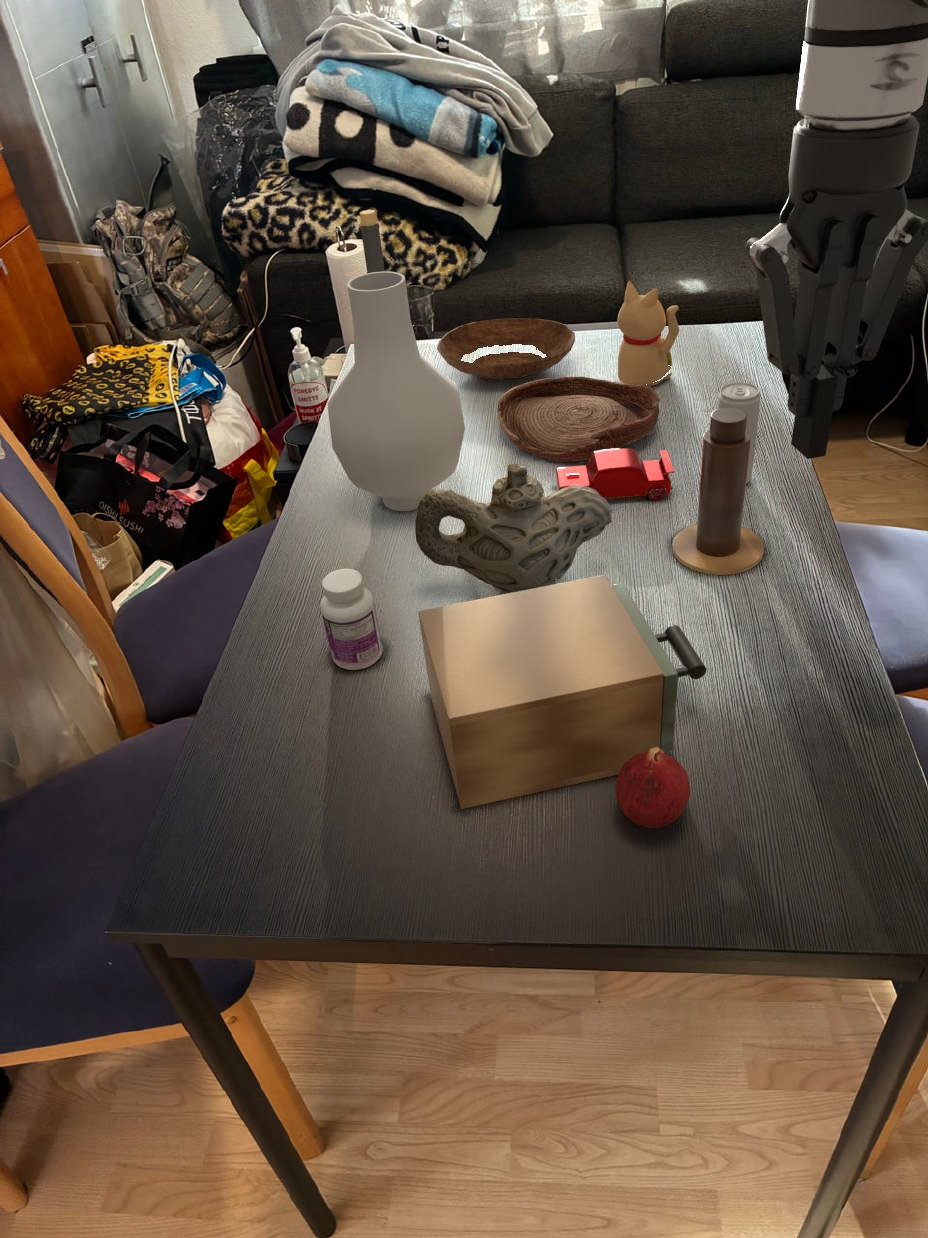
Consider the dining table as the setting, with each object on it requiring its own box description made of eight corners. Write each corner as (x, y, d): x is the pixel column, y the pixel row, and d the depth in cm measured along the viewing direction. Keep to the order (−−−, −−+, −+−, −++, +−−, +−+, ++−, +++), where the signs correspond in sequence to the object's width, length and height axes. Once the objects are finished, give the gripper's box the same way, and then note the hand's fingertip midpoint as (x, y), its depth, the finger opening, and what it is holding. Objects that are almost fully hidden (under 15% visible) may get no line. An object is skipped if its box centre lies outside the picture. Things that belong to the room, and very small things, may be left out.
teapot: (598, 540, 110) (597, 423, 101) (626, 597, 101) (629, 473, 92) (418, 570, 109) (401, 453, 100) (430, 630, 100) (413, 507, 90)
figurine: (691, 377, 143) (697, 278, 134) (648, 399, 139) (652, 297, 130) (648, 363, 149) (651, 267, 140) (605, 384, 144) (606, 285, 135)
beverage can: (711, 488, 117) (718, 398, 110) (712, 469, 121) (719, 381, 114) (751, 490, 116) (761, 399, 109) (751, 470, 120) (761, 382, 112)
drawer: (663, 646, 93) (667, 573, 87) (720, 739, 82) (728, 663, 77) (457, 689, 90) (448, 617, 85) (488, 790, 80) (480, 715, 74)
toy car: (666, 478, 120) (667, 443, 117) (673, 500, 116) (675, 464, 113) (556, 486, 121) (555, 452, 118) (559, 509, 116) (558, 474, 113)
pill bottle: (336, 640, 100) (319, 565, 94) (385, 637, 99) (372, 562, 93) (328, 673, 95) (310, 597, 90) (380, 671, 95) (365, 594, 89)
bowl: (455, 346, 162) (452, 317, 159) (583, 345, 157) (582, 316, 154) (427, 394, 147) (423, 364, 144) (567, 396, 142) (566, 364, 139)
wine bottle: (429, 412, 142) (404, 201, 124) (419, 436, 136) (391, 218, 117) (377, 412, 143) (345, 204, 125) (365, 437, 137) (329, 222, 119)
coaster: (779, 565, 103) (780, 560, 103) (693, 582, 102) (693, 577, 102) (739, 519, 111) (740, 515, 111) (659, 535, 110) (659, 530, 110)
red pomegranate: (676, 857, 74) (681, 788, 69) (606, 836, 76) (606, 768, 71) (694, 803, 78) (701, 735, 73) (627, 785, 80) (629, 717, 75)
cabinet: (605, 661, 93) (605, 574, 87) (658, 765, 82) (663, 673, 75) (431, 697, 91) (418, 610, 85) (461, 809, 80) (448, 718, 73)
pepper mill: (746, 552, 105) (761, 420, 95) (705, 560, 104) (716, 428, 94) (728, 530, 108) (740, 401, 99) (689, 538, 108) (697, 409, 98)
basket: (480, 459, 129) (477, 426, 126) (519, 396, 143) (518, 365, 140) (645, 471, 122) (646, 437, 119) (669, 404, 137) (670, 372, 134)
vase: (473, 463, 128) (453, 252, 111) (469, 528, 115) (446, 300, 98) (352, 471, 129) (314, 263, 112) (335, 536, 116) (289, 312, 99)
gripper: (789, 140, 56) (751, 487, 70) (988, 111, 57) (912, 456, 72) (734, 120, 62) (710, 443, 76) (917, 93, 63) (859, 416, 78)
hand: (808, 449), depth 74 cm, fingers closed
